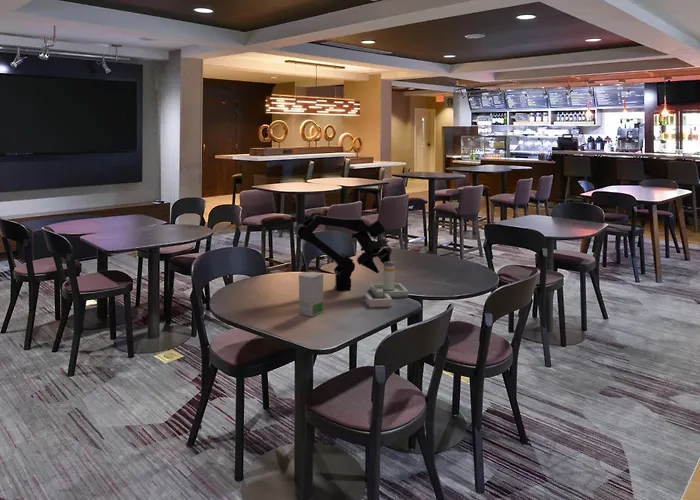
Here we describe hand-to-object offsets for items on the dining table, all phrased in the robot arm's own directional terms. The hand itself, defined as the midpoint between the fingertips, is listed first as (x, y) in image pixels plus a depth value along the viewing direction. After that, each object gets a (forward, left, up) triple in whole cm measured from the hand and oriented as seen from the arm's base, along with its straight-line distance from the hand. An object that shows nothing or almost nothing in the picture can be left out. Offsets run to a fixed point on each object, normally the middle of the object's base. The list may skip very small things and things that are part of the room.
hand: (384, 271), depth 255 cm
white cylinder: (+2, -1, -9) cm, 9 cm away
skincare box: (-35, -25, -10) cm, 45 cm away
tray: (+2, -1, -10) cm, 10 cm away
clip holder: (-6, -16, -10) cm, 20 cm away
